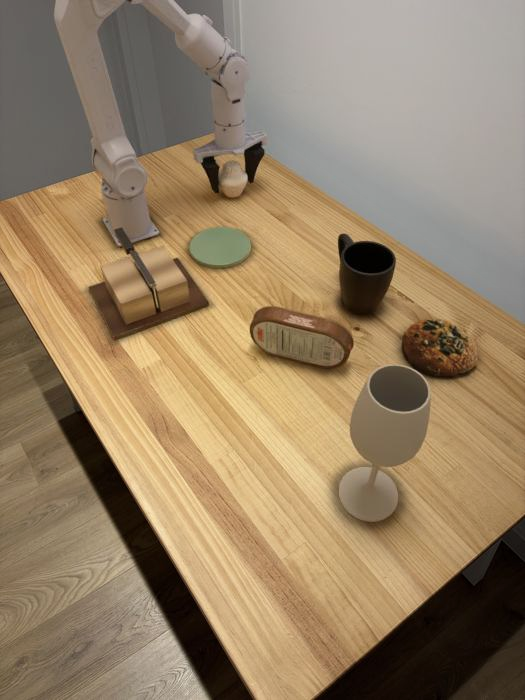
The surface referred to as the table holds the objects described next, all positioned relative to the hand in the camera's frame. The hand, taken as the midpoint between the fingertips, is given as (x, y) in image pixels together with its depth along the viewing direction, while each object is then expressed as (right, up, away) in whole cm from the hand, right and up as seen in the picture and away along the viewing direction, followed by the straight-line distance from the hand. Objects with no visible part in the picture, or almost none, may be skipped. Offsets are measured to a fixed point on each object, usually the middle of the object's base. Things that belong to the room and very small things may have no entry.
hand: (232, 185), depth 110 cm
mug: (+21, -24, -19) cm, 37 cm away
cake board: (-13, -24, -19) cm, 33 cm away
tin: (+11, -34, -28) cm, 45 cm away
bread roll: (+32, -33, -27) cm, 54 cm away
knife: (-14, -21, -19) cm, 31 cm away
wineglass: (+19, -50, -43) cm, 69 cm away
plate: (-2, -15, -11) cm, 18 cm away
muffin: (0, -1, +1) cm, 2 cm away
